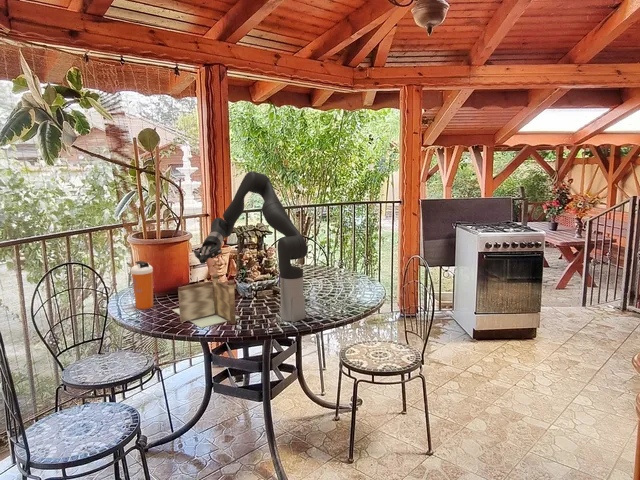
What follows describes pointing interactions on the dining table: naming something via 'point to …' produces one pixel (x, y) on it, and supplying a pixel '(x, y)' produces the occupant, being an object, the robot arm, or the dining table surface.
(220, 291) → the panel
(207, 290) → the fence panel
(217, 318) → the card
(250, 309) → the dining table surface
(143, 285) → the shaker bottle
